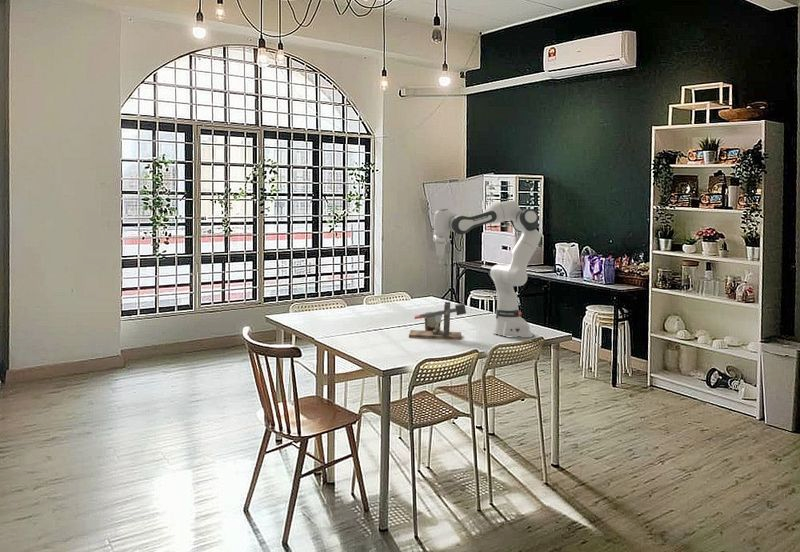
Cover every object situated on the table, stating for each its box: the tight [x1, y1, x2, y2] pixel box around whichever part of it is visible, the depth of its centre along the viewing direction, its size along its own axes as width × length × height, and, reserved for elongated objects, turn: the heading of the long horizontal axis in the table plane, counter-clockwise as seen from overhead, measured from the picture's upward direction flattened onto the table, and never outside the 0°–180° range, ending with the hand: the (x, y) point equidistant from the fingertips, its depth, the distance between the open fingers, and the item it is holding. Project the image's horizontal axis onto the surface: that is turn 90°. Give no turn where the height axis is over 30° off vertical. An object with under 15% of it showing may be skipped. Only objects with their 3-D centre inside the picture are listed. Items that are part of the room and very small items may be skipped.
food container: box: [424, 311, 443, 331], centre depth 395 cm, size 12×6×10 cm, turn 130°
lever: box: [414, 302, 467, 323], centre depth 379 cm, size 28×5×7 cm, turn 83°
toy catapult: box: [408, 301, 462, 341], centre depth 380 cm, size 28×12×18 cm, turn 84°
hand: (440, 262), depth 387 cm, fingers open, 8 cm apart
